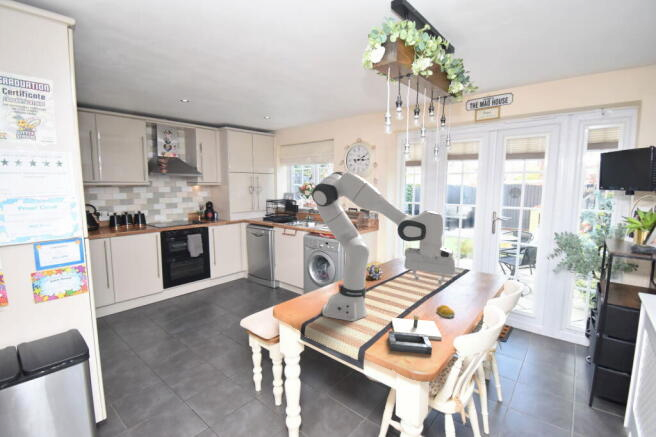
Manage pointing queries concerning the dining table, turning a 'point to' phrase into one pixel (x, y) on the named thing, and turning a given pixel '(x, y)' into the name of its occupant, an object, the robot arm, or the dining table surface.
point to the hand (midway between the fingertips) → (428, 281)
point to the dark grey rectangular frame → (409, 347)
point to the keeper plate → (416, 327)
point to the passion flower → (374, 271)
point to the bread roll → (445, 311)
